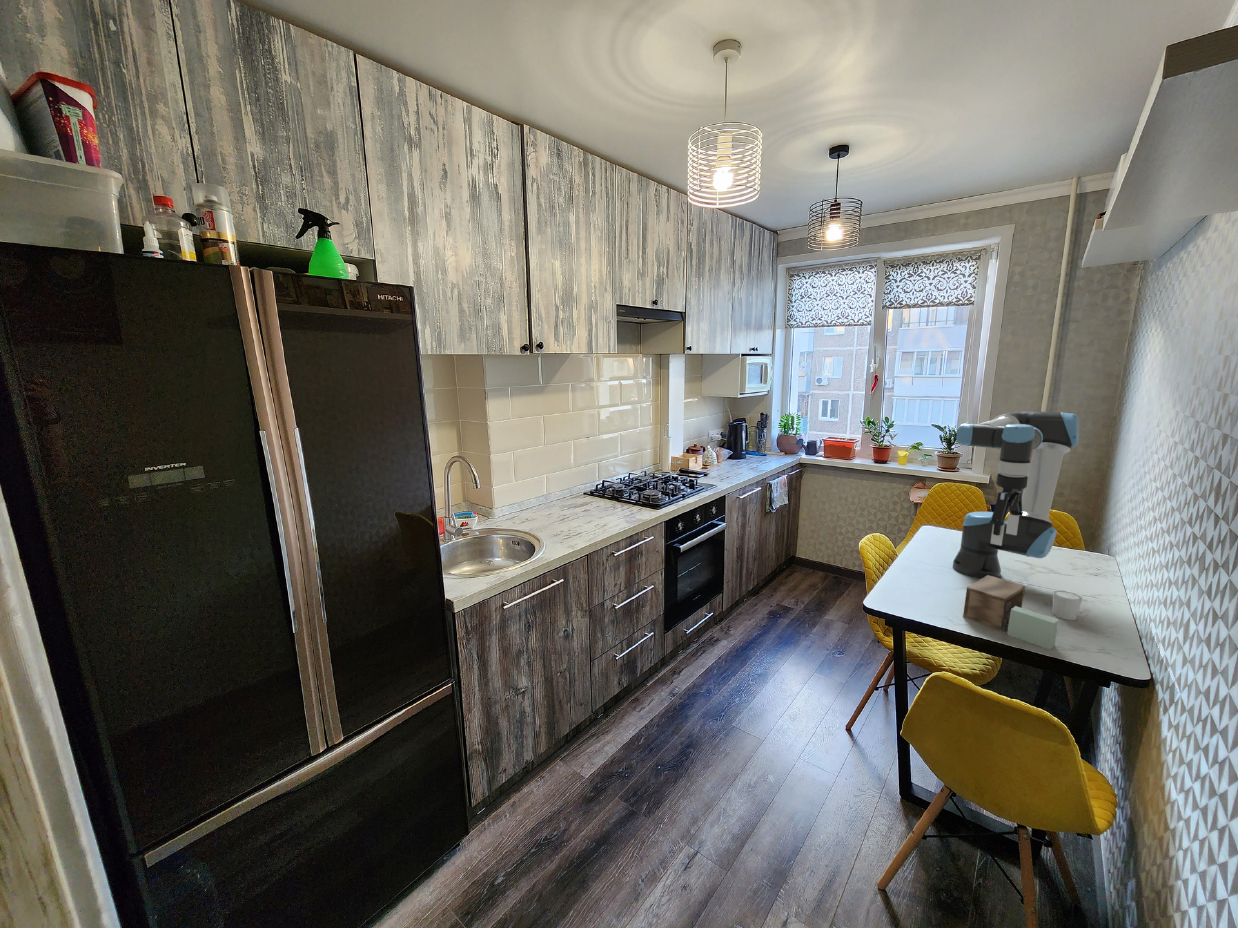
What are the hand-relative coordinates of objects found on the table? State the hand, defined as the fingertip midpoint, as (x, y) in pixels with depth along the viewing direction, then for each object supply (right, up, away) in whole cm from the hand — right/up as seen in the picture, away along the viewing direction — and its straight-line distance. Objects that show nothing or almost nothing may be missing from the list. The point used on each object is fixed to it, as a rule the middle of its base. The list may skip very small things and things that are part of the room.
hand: (1003, 539), depth 158 cm
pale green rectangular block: (-4, -27, -15) cm, 31 cm away
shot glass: (+18, -24, -1) cm, 31 cm away
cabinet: (-5, -24, -1) cm, 25 cm away
